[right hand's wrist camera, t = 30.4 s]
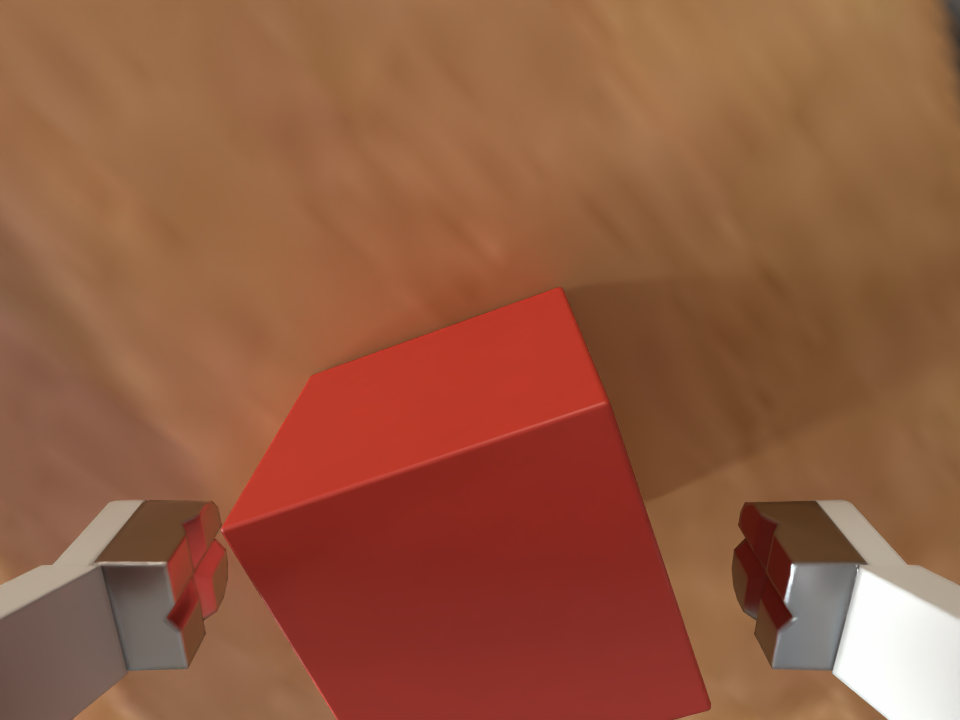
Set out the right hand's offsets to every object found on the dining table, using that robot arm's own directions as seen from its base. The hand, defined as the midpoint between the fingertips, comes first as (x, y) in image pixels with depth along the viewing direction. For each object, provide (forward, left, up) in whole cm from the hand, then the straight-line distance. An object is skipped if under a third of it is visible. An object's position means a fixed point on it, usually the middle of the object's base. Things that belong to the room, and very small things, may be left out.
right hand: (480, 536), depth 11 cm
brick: (0, 0, -3) cm, 3 cm away
